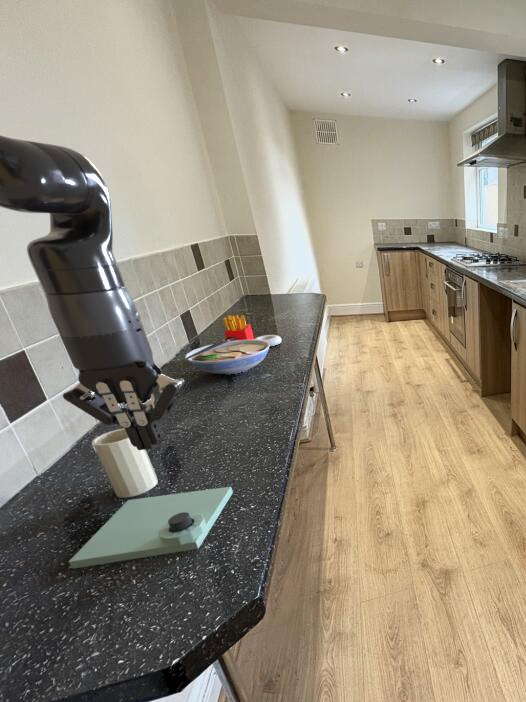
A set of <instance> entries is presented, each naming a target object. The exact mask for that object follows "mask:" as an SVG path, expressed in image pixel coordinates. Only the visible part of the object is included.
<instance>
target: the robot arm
mask: <svg viewBox="0 0 526 702" xmlns="http://www.w3.org/2000/svg"><path fill="white" fill-rule="evenodd" d="M110 196H111V195H110V192H109V189H108V186H107V183H106V181H105V179H104V178H103V175H102V174H101V172H100V171H99V169H98V168H97V167H96V166H95V165H94V164H93V162H91V161H90V160H89V159H88V158H87V157H86V156H85V155H84V154H82V153H80V152H78V151H76V150H75V149H72V148H70V147H67V146H63V145H57V144H51V143H44V142H37V141H32V140H31V141H30V140H24V139H18V138H12V137H8V136H4V135H0V208H3V209H7V210H10V211H15V212H19V213H24V214H49V232H48V234H46V235H44V236H42V237H38V238H36V239H33V240H31V241H30V242H29V243H27V245H26V253H27V257H28V259H29V262H30V264H31V267H32V269H33V271H34V273H35V275H36V277H37V279H38V282H39V284H40V286H41V289H42V291H43V293H44V296H45V299H46V303H47V307H48V311H49V315H50V318H51V319H52V322H53V323H54V325H55V328H56V330H57V332H58V335H59V337H60V339H61V342H62V344H63V346H64V349H65V351H66V353H67V355H68V358H69V359H70V361H71V362H70V363H71V364H72V366H73V367H74V368H75V369H77V370H78V377H77V379H78V382H79V383H78V384H77V385H76V386H75V387H73V388H71V389H70V390H68V391H67V392H64V393H63V394H62V398H63V399H64V400H65V401H67V403H68V402H69V403H70V404H71V405H73V406H75V407H76V408H78V409H80V410H81V411H82V412H84V413H86V414H88V415H89V416H91V417H92V418H94V419H96V420H97V421H99V422H100V423H102V424H104V425H106V426H111V425H118V426H120V427H122V428H123V429H125V430H126V433H127V435H128V437H129V440H130V442H131V444H132V445H133V446H134V447H137V449H138V450H146V451H147V450H154V449H155V448H156V447H157V446H158V445H159V444H160V443H161V441H162V440H163V433H162V432H161V429H160V426H159V423H158V421H160V420H161V419H162V418H163V417H164V416H165V415H167V414H168V413H170V412H171V410H172V408H173V406H174V404H175V403H176V401H177V398H178V397H179V395H180V393H181V391H182V389H183V388H184V386H185V384H186V381H185V379H184V378H182V377H176V378H175V379H174V378H173V377H170V376H168V375H165V374H163V371H162V369H161V368H160V366H159V365H157V364H156V362H155V360H154V358H153V351H152V348H151V345H150V342H149V340H148V336H147V334H146V330H145V328H144V326H143V323H142V318H141V316H140V314H139V311H138V309H137V306H136V304H135V302H134V300H133V298H132V296H131V294H130V293H129V291H128V289H127V286H126V284H125V280H124V278H123V274H122V273H121V269H120V267H119V264H118V262H117V260H116V257H115V255H114V249H113V248H114V247H113V245H114V243H113V242H114V240H113V239H114V238H113V237H114V234H113V232H114V231H113V218H112V217H113V215H112V204H111V197H110ZM157 386H158V392H159V393H160V396H159V398H158V400H157V402H156V403H155V401H156V400H155V399H156V398H155V395H154V392H155V390H156V388H157Z"/></svg>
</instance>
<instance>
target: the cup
mask: <svg viewBox="0 0 526 702" xmlns="http://www.w3.org/2000/svg"><path fill="white" fill-rule="evenodd" d="M91 445H92V448H93V449H94V452H95V454H96V456H97V458H98V460H99V462H100V465H101V467H102V469H103V471H104V474H105V475H106V477H107V480H108V481H109V484H110V486H111V488H112V490H113V494H115V496H116V497H117V498H122V499H123V498H124V499H125V498H131V497H136V496H139V495H142V494H144V493H146V492H148V491H150V490H152V489H153V488H154V487H155V486H157V485H158V483H159V480H158V476H157V473H156V471H155V469H154V467H153V464H152V461H151V458H150V457H149V454H148V452H147V449H146V450H138V449H137V447H134V446H133V445H132V444H131V442H130V440H129V437H128V435H127V433H126V430H125V428H119V429H115V430H110V431H108V432H104V433H102V434H101V435H97V436H96V437H95V438H93V439H92V440H91Z"/></svg>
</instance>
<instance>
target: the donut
mask: <svg viewBox="0 0 526 702" xmlns="http://www.w3.org/2000/svg"><path fill="white" fill-rule="evenodd" d="M254 340H263V341H266V342H269V345H270V346H275V345H278V344H280V343H281V344H282V342H283V341H282V337H281V336H279V335H276V334H265V335H260V336H257V337H254ZM281 344H280V345H281ZM278 346H279V345H278Z"/></svg>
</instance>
